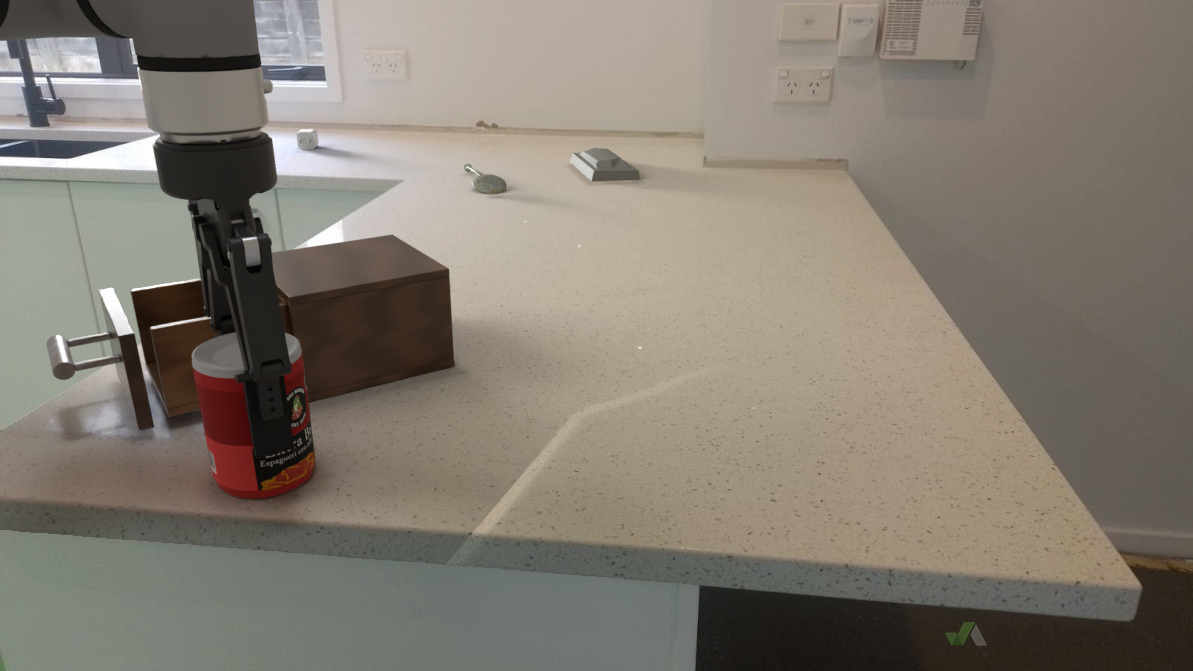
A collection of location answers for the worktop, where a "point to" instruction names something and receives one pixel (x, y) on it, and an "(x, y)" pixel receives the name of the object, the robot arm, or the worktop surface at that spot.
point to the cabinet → (366, 312)
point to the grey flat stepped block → (603, 165)
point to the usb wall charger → (307, 139)
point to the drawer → (150, 345)
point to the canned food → (231, 423)
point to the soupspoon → (486, 182)
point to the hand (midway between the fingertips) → (258, 427)
